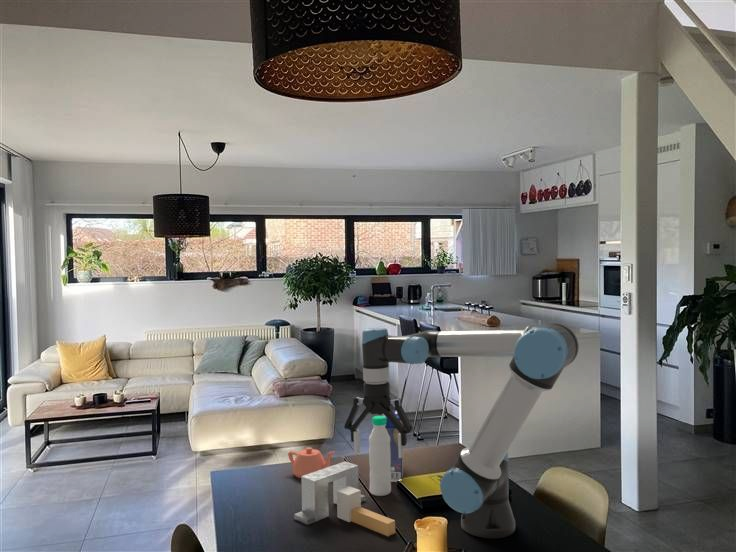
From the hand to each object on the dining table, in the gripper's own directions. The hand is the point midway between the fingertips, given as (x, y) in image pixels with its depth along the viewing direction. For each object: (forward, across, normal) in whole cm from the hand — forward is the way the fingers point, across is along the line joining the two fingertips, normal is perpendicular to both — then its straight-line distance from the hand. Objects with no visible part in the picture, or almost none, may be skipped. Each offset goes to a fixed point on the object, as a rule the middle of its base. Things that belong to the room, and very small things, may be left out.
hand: (379, 454), depth 174 cm
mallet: (+20, +4, +2) cm, 20 cm away
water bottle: (+20, +8, -22) cm, 30 cm away
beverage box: (+20, +9, -37) cm, 43 cm away
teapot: (+19, +37, -30) cm, 51 cm away
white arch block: (+20, +18, -4) cm, 27 cm away
